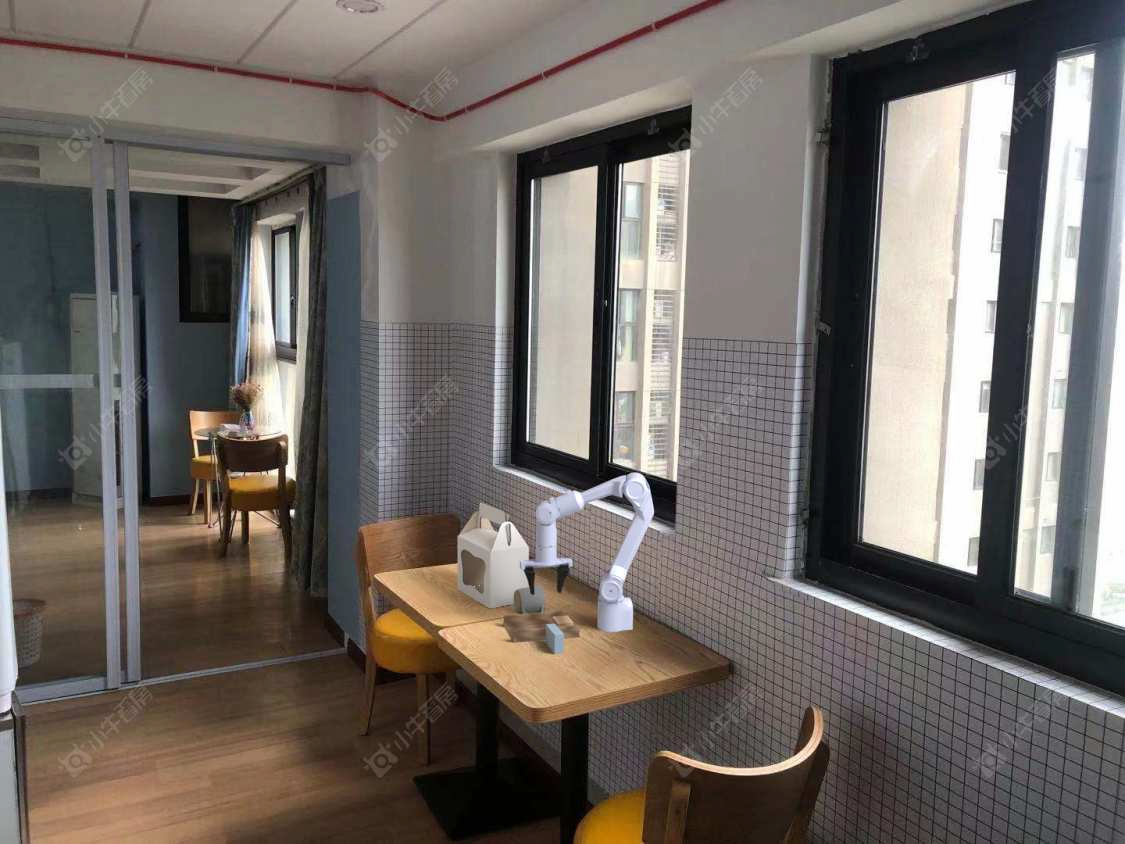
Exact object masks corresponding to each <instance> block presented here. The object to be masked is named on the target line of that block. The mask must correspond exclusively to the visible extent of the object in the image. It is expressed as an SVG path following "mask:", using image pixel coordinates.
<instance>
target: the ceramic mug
mask: <svg viewBox="0 0 1125 844" xmlns="http://www.w3.org/2000/svg"><path fill="white" fill-rule="evenodd" d="M534 590H535V592H534V595H531V593H530V588H529V586H528V587H527V588H521V589H518V590H516V591H515V592H514V605H513V606H514V609H515V611H516V612H517V613H518V614H530V613H544V612H545V611H546V606H547V605H546V604H547V601H546V599H547V598H546V594H545V590H544V588H543V586H542V585H534Z"/></svg>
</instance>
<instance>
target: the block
mask: <svg viewBox="0 0 1125 844" xmlns="http://www.w3.org/2000/svg"><path fill="white" fill-rule="evenodd" d="M564 641H565V639H564V634H563V632H562V631H561V630H560V629H559V628H558V627H557V626H556V625H555V624H546V640H545V645H546V646H547V647H548V648H549V649H550V651H551V652H552V653H553V654H554V655H563V654H564V653H565V650H564V649H565V647H564V646H565V642H564Z"/></svg>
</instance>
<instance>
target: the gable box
mask: <svg viewBox="0 0 1125 844" xmlns="http://www.w3.org/2000/svg"><path fill="white" fill-rule="evenodd" d="M511 515H512V514H509V513H507V512H506V510H503V509H500V508H497V507H495V506H493V505H490V504H488V503H485V502H482V501H481V502H480V503H479V510H475V511H474V512H473V513H472V514H471V516H470V517H469V519H468V520H467V522H466V524H465V525H464V526H463V528H462V529H461V531H460V532H459V534H458V535H457V590H458V589H459V590H460V591H459V590H458V591H459V592H461V591H462V592H463V593H462V592H461V593H462V594H464V593H465V594H464V595H466V596H467V595H468V597H469V598H471V599H472V598H473V600H474V601H476V602H477V601H478V603H479V602H480V603H479V604H481V605H482V604H483V606H484V607H486V608H487V607H488V609H489V608H493V609H497V608H496V607H499V608H502V607H501V606H504V607H508V606H507V605H510V606H514V605H513V604H514V592H515V591H516V590H518V589H521V588H527V587H529V583H528V580H527V577H526V575H525V573H524V571H523V570H521V569H520V561H525V560H530V558H529V557H530V547H529V545H528V544H527V542H526V541H525V539H524V538H523V536H522V535H521V533H520V532H519V531H518V529H517V528H516V526H515V525H514V523H512V522H511V521H509V520H510V518H511ZM491 522H493V523H495V524H498V525H499V529H498V530H497V531H496V530H495V529H494V528H493V526H492V524H491ZM479 585H480V586H479ZM474 586H475V587H474Z"/></svg>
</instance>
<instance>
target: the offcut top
mask: <svg viewBox="0 0 1125 844" xmlns="http://www.w3.org/2000/svg"><path fill="white" fill-rule="evenodd" d="M552 622H553V624H555V625H556V626H557V627H560V626H573V625H574V622H573V620H572V619H571V618H570V617H569V615H568V616H554V617H552Z"/></svg>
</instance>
